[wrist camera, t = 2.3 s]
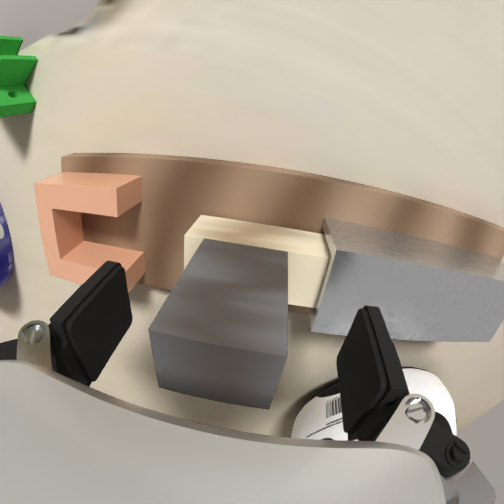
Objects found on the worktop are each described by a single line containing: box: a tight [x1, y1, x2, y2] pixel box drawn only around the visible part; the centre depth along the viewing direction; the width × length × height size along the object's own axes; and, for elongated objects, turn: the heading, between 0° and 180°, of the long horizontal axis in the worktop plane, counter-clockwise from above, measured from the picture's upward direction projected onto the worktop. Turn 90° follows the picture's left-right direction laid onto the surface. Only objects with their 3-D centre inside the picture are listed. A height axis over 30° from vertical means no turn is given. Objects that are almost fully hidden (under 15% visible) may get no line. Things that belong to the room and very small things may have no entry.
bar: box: [149, 215, 331, 409], centre depth 12 cm, size 20×3×10 cm, turn 83°
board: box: [61, 153, 504, 314], centre depth 17 cm, size 34×9×2 cm, turn 83°
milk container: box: [291, 367, 456, 441], centre depth 17 cm, size 17×17×18 cm
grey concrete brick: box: [309, 217, 504, 342], centre depth 14 cm, size 15×5×4 cm, turn 83°
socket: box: [34, 172, 145, 293], centre depth 16 cm, size 7×7×3 cm
